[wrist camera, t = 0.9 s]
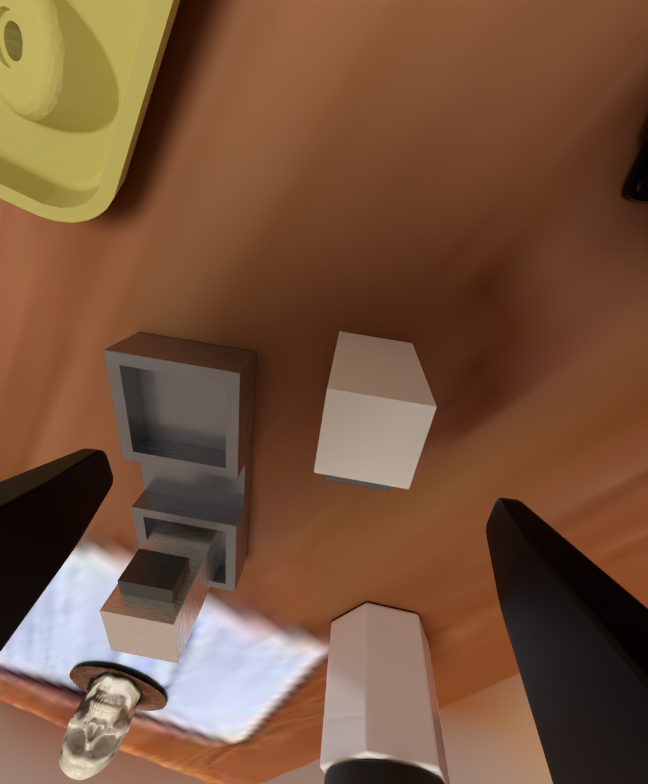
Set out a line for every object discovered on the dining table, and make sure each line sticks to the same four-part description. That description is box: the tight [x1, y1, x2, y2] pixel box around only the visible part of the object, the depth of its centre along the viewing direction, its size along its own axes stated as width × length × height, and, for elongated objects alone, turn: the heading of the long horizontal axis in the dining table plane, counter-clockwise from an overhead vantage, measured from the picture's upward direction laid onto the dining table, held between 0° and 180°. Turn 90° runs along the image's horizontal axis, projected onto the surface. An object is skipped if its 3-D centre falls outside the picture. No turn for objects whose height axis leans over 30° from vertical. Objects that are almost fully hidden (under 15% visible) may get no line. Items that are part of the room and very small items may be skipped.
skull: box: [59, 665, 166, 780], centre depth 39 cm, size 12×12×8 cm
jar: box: [320, 603, 450, 784], centre depth 26 cm, size 9×8×12 cm
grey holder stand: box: [100, 332, 257, 663], centre depth 20 cm, size 7×18×8 cm, turn 172°
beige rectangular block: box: [314, 331, 437, 491], centre depth 17 cm, size 4×5×7 cm
